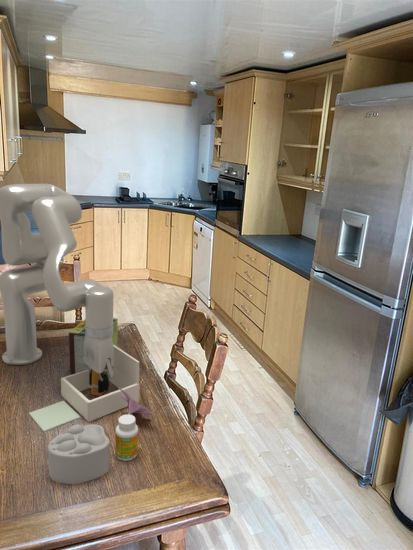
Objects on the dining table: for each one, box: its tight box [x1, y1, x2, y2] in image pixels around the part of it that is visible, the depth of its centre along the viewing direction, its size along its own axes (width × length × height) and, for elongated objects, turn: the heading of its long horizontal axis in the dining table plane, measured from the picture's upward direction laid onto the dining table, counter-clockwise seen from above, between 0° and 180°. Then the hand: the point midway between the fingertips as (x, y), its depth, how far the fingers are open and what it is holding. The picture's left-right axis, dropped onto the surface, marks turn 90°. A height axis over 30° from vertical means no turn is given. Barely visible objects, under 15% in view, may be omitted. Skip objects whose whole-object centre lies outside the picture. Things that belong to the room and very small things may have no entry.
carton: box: [60, 345, 141, 423], centre depth 125 cm, size 16×16×13 cm
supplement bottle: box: [114, 413, 139, 462], centre depth 103 cm, size 5×5×10 cm
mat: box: [28, 400, 81, 433], centre depth 117 cm, size 10×10×1 cm
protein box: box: [68, 317, 119, 376], centre depth 142 cm, size 10×15×16 cm
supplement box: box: [90, 367, 106, 397], centre depth 125 cm, size 3×3×10 cm
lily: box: [118, 388, 154, 421], centre depth 116 cm, size 12×12×10 cm
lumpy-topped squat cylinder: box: [47, 423, 111, 485], centre depth 98 cm, size 10×13×9 cm
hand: (98, 386), depth 126 cm, fingers closed on supplement box, 4 cm apart
